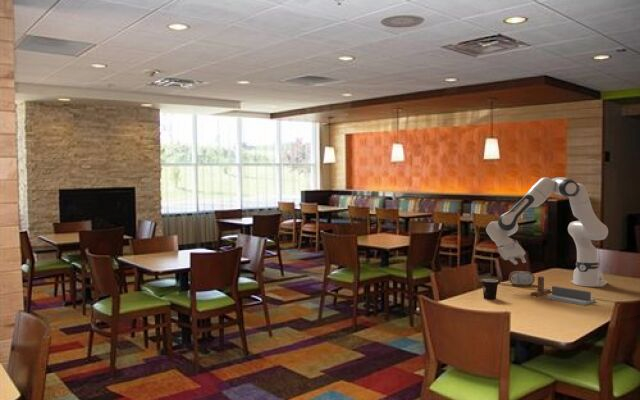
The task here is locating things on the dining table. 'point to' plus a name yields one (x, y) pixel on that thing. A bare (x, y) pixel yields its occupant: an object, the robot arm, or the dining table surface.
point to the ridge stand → (571, 295)
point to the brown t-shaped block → (540, 288)
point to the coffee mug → (489, 288)
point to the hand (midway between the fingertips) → (520, 263)
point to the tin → (521, 278)
